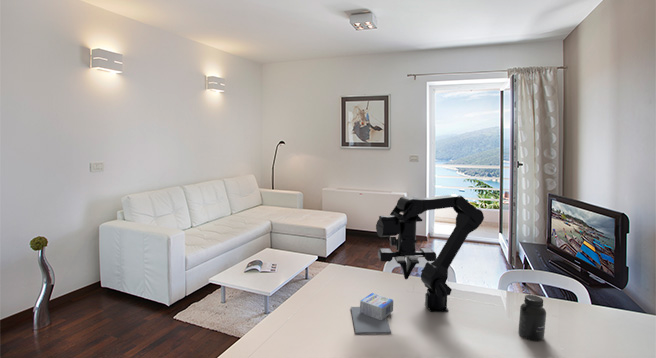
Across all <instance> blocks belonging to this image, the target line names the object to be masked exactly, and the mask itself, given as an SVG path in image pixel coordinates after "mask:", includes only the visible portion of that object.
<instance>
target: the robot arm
mask: <svg viewBox="0 0 656 358" xmlns="http://www.w3.org/2000/svg"><path fill="white" fill-rule="evenodd" d="M396 202H397V203H396V205H395V206H394V208H393V209H392V210H391V212H390V214H389V215H378V219H377V221H376V224H375V230H376V234H377V236H378V237H380V238H385V237H389V245H390V246H391V247H393V246H394V247H395V249H396V250H397V251H396V250H395V251H392V250H391V248H387V247H386V248H381V247H380V248H378V250H377V257H378V259H379V261H380V262H383V263H384V262H385V263H387V262H388V263H389V262H391V261H392V260H393V258H394V260H395V263H396V264H398V265H399V266H400V267H401V271H402V275H403V279H404V280H409V278H410V275H411V274H412V271H413V270H414V268H415V267H416V266H417V264H420V261H419V258H424V259H425V260H426V261H427V262H426V263H425V265H424V267H423V268H422V270H420V272H421V274H420V280H421V283H423V284H424V287H425V288H427V289H426V293H425V302H424V305H425V306H426V307H427V309H428V310H429V312H436V313H437V312H449V308H448V306H447V305H448V296H450V295H451V293H452V288H451V287H450V286H449V285H448V284H447V281H448V275H449V267H450V266H451V265H452V263H453V261H454V259H455V258H456V256H457V255H458V253H459V251H460V249H461V248H462V246H463V245H464V243H465V241H466V239H467V238H468V236H469V235H470V234H471V233H473V232H474V231H476V230H477V229H478V228H479V227H480V226H481V225H482V223H483V222H484V220H485V216H484V213H483V211H482V210H481V209H480V208H477V207H475V206H474V205H473V204H472V203H470V202H469V201H467V199H465V197H464V196H462V195H460V194H459V195H458V194H457V193H456V194H455V193H451V194H449V195H448V194H447V195H440V196H431V197H429V196H428V197H415V196H405V195H403V196H401V197H399V199H398V200H397V201H396ZM447 208H452V209H453V211H454V212H455V213H456V214H457V215H456V216H455V226H454V229H452V232H451V234H450V235H449V236H448V239H447V240H446V242H445V244H444V245H443V247H442V249H441V250H440V252H439V253H438V256H437V253H436V252H435V251H434V250H433V249H432V248H430V247H423V248H422V247H420V249H419V251H417V250H416V247H417V246H416V244H417V243H418V242H417V240H418V239H417V222H419V223H420V222H423V219H422V217H420V215H421V214H423V213H425V212H428V211H432V210H440V209H447ZM396 236H397V237H396ZM430 262H431V263H430Z"/></svg>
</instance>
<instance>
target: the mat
mask: <svg viewBox="0 0 656 358" xmlns="http://www.w3.org/2000/svg"><path fill="white" fill-rule="evenodd" d="M350 312H351V316H352V317H351V318H352V322H353V325H354V326H353V327H354V332H355V333H354V334H355V335H380V334H386V335H389V334H392V330H391V326H390V325H389V322H388V320H387V316H386V317H385V318H384V319H383V320H379V319H376V318H373V317H371V316H368V315H365V314H363V313H360V306H350Z"/></svg>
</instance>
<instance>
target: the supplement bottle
mask: <svg viewBox="0 0 656 358" xmlns="http://www.w3.org/2000/svg"><path fill="white" fill-rule="evenodd" d="M523 302H524V303H522V304H521V305H520V308H519V317H518V319H519V320H518V334H519V335H520V336H521V337H523V338H524V339H526V340H529V341H534V342H540V341H543V340H544V339H545V333H546V321H547V310H546V309H545V308H544V299H543V298H542V297H540V296H538V295H533V294H526V295H525V296H524V300H523Z"/></svg>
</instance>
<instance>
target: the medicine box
mask: <svg viewBox="0 0 656 358" xmlns="http://www.w3.org/2000/svg"><path fill="white" fill-rule="evenodd" d="M359 307H360V313H363V314H365V315H368V316H371V317H373V318H376V319H379V320H383V319H384V318H385V317H386V318H387V317H388V316H389V315H390V314H392V313H393V312H394V299H392V298H389V297H386V296H383V295H380V294H378V293H377V294H376V293H373V292H372V293H370V294H368V295H367V296H365V297H364V298H363V299H361V300H360V301H359Z"/></svg>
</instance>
